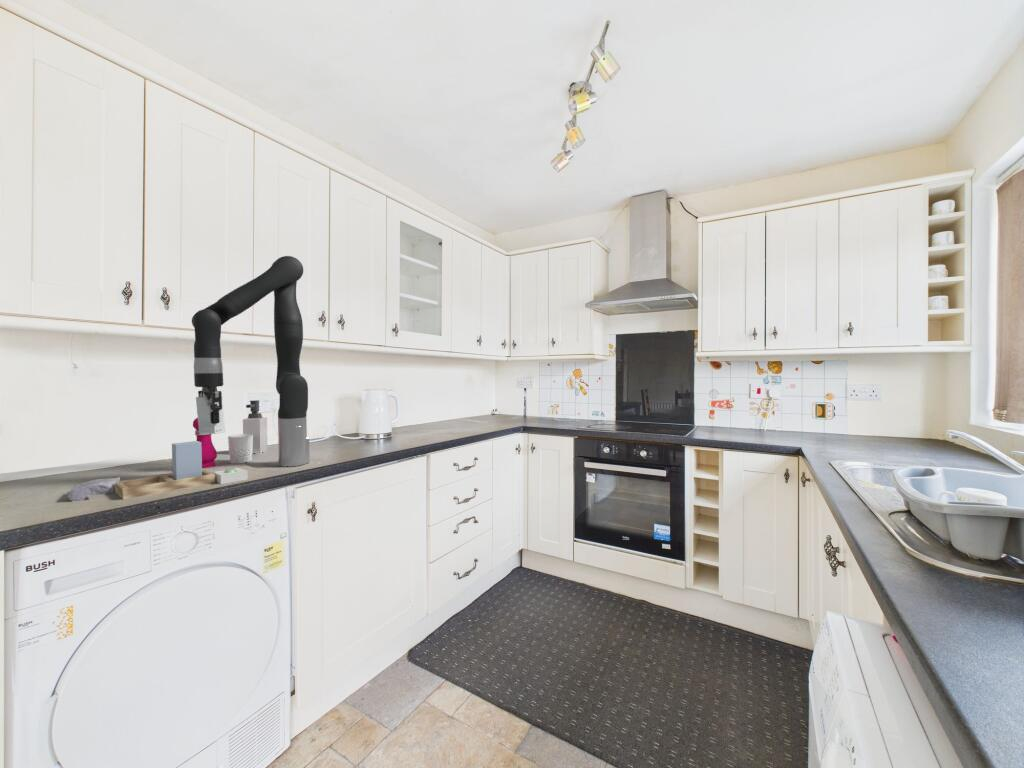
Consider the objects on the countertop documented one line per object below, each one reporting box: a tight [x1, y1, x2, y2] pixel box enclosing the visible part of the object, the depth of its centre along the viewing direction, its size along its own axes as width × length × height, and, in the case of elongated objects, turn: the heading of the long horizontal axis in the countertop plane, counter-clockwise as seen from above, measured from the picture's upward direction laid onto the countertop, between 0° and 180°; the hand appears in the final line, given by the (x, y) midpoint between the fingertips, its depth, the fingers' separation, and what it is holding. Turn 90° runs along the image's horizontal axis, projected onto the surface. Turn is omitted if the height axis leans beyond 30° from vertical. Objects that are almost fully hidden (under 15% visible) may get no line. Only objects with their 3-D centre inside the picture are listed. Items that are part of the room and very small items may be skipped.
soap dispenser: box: [242, 400, 268, 454], centre depth 170 cm, size 6×9×22 cm
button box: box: [212, 467, 249, 485], centre depth 124 cm, size 7×7×4 cm
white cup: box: [227, 433, 253, 464], centre depth 153 cm, size 8×8×10 cm
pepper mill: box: [192, 417, 218, 469], centre depth 142 cm, size 7×7×20 cm
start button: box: [224, 468, 235, 473], centre depth 124 cm, size 3×3×2 cm
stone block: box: [66, 476, 121, 502], centre depth 112 cm, size 12×5×10 cm
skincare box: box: [195, 396, 226, 435], centre depth 132 cm, size 6×4×12 cm
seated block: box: [171, 440, 203, 480], centre depth 119 cm, size 6×4×12 cm, turn 143°
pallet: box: [114, 468, 216, 500], centre depth 116 cm, size 20×11×4 cm, turn 143°
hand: (211, 422), depth 132 cm, fingers closed on skincare box, 7 cm apart
